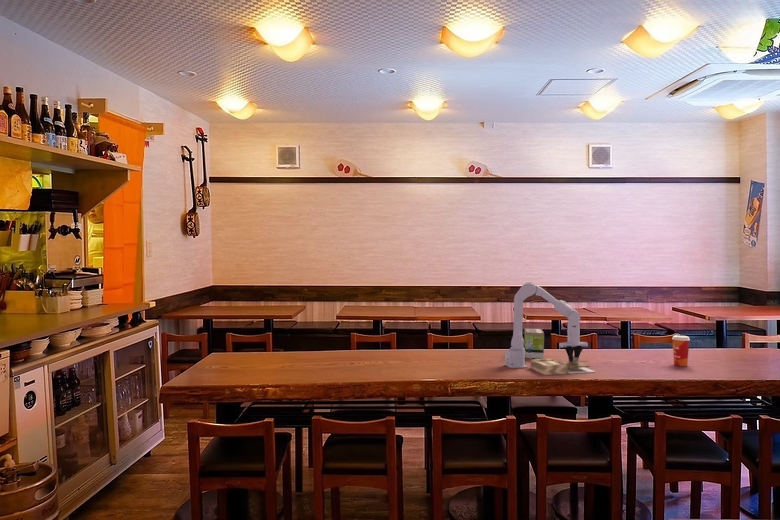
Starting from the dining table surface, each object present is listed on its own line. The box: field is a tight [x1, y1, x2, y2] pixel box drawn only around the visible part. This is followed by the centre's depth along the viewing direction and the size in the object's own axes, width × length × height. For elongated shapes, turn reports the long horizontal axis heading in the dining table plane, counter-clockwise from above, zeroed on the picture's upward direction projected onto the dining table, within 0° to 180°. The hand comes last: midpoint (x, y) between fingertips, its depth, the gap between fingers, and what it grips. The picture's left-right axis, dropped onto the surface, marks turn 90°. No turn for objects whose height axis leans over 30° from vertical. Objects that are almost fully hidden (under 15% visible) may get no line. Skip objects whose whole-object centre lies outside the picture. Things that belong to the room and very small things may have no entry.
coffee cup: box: [671, 334, 691, 367], centre depth 261 cm, size 8×8×15 cm
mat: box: [567, 367, 596, 374], centre depth 251 cm, size 14×14×1 cm
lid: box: [558, 355, 590, 368], centre depth 251 cm, size 11×11×4 cm
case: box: [530, 358, 568, 376], centre depth 249 cm, size 12×14×4 cm
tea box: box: [523, 328, 545, 360], centre depth 284 cm, size 15×10×15 cm, turn 168°
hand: (573, 361), depth 251 cm, fingers closed on lid, 2 cm apart
